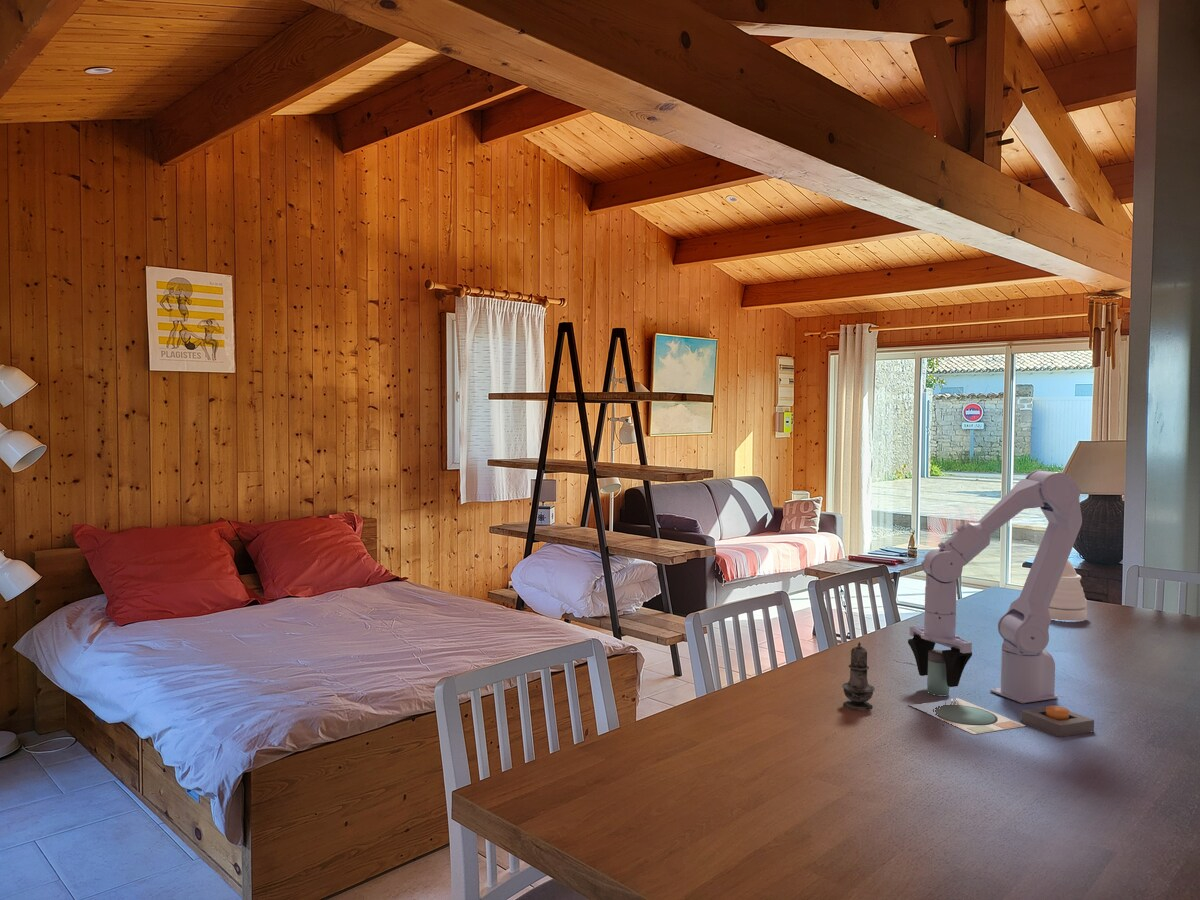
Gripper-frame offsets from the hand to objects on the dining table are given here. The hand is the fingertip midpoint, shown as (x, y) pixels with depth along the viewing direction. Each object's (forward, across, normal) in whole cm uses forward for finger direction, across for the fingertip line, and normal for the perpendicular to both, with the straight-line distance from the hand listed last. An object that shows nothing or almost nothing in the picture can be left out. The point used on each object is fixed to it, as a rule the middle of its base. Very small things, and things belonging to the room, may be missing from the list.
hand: (938, 680), depth 171 cm
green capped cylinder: (+2, 0, 0) cm, 2 cm away
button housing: (+2, +22, +6) cm, 23 cm away
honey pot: (+3, -41, +81) cm, 91 cm away
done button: (+1, +22, +6) cm, 23 cm away
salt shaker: (+3, +1, -20) cm, 20 cm away
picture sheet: (+2, +12, -5) cm, 13 cm away
